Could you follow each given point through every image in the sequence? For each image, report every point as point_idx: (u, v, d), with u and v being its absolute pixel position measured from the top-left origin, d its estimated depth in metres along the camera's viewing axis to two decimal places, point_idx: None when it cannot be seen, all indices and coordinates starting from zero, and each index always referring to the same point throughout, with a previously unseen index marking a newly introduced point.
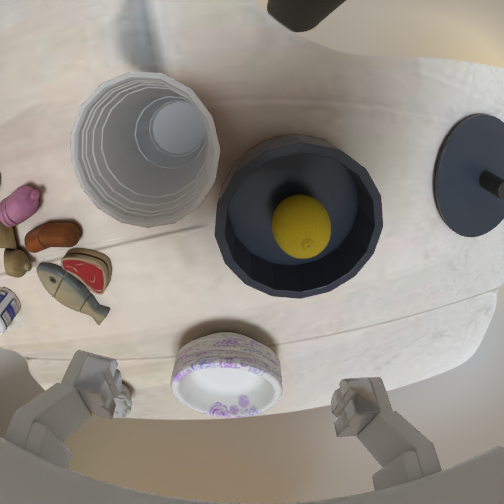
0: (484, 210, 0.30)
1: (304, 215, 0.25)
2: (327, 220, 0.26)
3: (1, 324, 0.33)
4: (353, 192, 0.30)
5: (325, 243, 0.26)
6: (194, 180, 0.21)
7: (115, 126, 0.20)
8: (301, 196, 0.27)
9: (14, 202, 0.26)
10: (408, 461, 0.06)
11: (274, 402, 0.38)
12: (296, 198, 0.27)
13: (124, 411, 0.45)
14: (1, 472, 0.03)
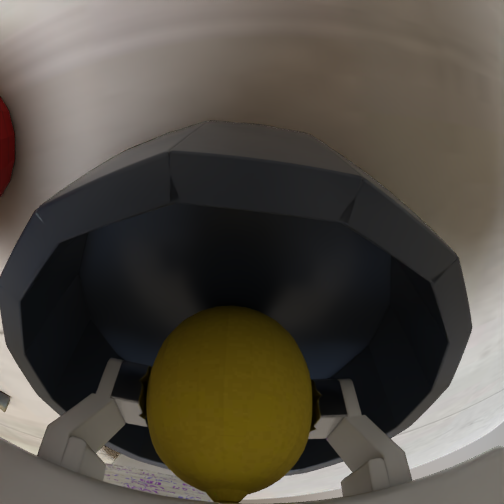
0: None
1: (211, 432, 0.06)
2: (298, 423, 0.07)
3: None
4: (382, 274, 0.12)
5: (287, 472, 0.07)
6: None
7: None
8: (222, 331, 0.08)
9: None
10: (374, 469, 0.06)
11: None
12: (203, 341, 0.08)
13: None
14: (1, 472, 0.03)
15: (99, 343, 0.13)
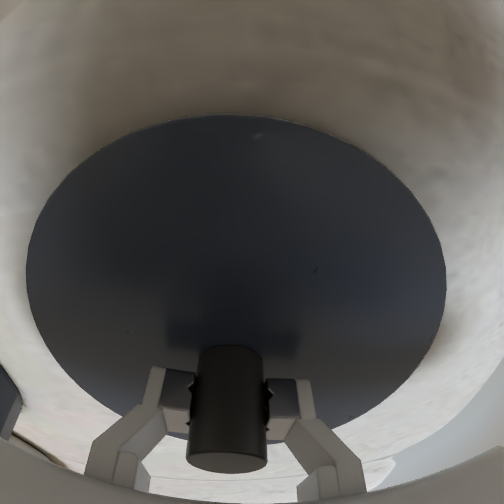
0: None
1: None
2: None
3: None
4: None
5: None
6: None
7: None
8: None
9: None
10: (323, 477, 0.06)
11: None
12: None
13: None
14: (1, 472, 0.03)
15: None
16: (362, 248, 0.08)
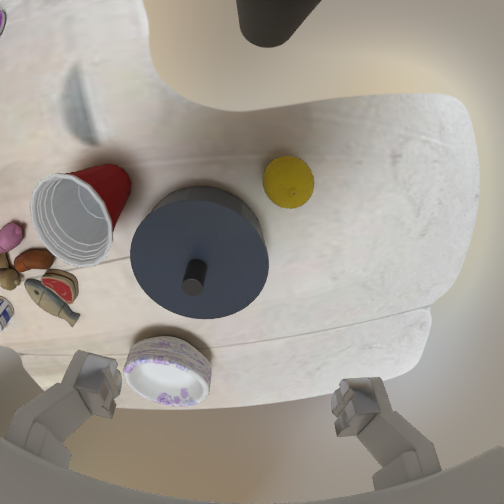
0: (212, 295, 0.37)
1: (290, 168, 0.28)
2: (310, 174, 0.29)
3: None
4: None
5: (308, 193, 0.29)
6: (109, 235, 0.29)
7: (61, 195, 0.29)
8: (288, 156, 0.31)
9: (3, 237, 0.34)
10: (408, 461, 0.06)
11: (205, 395, 0.46)
12: (283, 157, 0.30)
13: None
14: (1, 472, 0.03)
15: None
16: (228, 229, 0.32)
